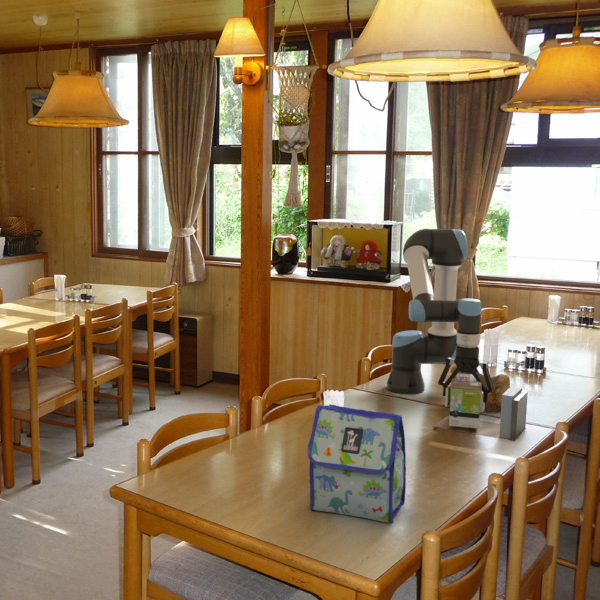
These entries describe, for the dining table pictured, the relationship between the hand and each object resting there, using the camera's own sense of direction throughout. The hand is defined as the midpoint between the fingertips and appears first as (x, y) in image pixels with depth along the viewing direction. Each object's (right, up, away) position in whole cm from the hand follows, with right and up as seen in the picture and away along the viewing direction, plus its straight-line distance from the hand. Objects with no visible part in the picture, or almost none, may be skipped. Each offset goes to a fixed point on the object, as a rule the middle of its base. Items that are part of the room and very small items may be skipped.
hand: (464, 408), depth 248 cm
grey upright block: (+13, -7, -7) cm, 16 cm away
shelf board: (+5, -7, -2) cm, 9 cm away
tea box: (0, -4, +1) cm, 4 cm away
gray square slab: (+16, -7, -8) cm, 19 cm away
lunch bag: (-41, -16, -64) cm, 78 cm away
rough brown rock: (+8, -4, +21) cm, 23 cm away
